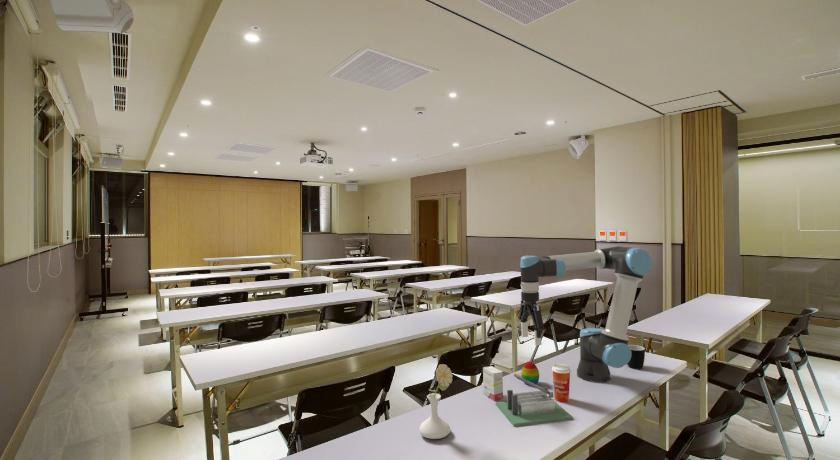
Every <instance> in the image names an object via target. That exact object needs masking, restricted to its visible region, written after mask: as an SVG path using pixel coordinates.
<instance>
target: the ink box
mask: <svg viewBox="0 0 840 460" xmlns="http://www.w3.org/2000/svg"><path fill="white" fill-rule="evenodd" d="M482 374H483V375H482V377H483V378H482V381H483V384H482V385H483V387H482V388H483V394H484V395H485V396H486V397H487V398H489V399H490V400H492V401H494V402H495V401H496V402H497V401H499V400H503V399H504V388H503V387H504V385H503V384H504V381H503V380H504V379H503V377H504V376H503V372H502V371H501V370H499V369H497V368H496V367H494V366H492V365H489V366H484V367H482Z"/></svg>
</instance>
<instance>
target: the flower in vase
mask: <svg viewBox="0 0 840 460" xmlns="http://www.w3.org/2000/svg"><path fill="white" fill-rule="evenodd" d="M435 376H436V381H437V382H438V384H437V388H436V389H435V390H434V389H431V388H428V391H429V392H431V393H429V394H427V395H426V398H427V399H428V401H429V404H430V411H431V412H430V416H429V417H428V418H427V419H425V420H424V421H423V422H421V424H420V425H419V428H418V431H419V433H420V435H421V436H422V437H424V438H427V439H432V440H438V439H444V438H445V437H447V436H448V435H449V434H450V432H451V426H450V425H449V424H448V422H447V421H446V420H444V419H442V418H441V417H440V416H439V414H438V405H439V401H440V399H441V397H442V395H441V394H439V393H437V392H438V391H439V390H438V389H440V390H441V391H446V390H447V389H448V388H449V386H450V384H452V382H453V376H454V375H453V373H452V371H451V368H450V367H448V365H447V364H444V363H442V364H439V365H438V367H437V368H436V369H435ZM432 392H433V393H432Z"/></svg>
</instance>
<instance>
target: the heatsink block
mask: <svg viewBox="0 0 840 460" xmlns="http://www.w3.org/2000/svg"><path fill="white" fill-rule="evenodd" d="M543 388H544V389H545V390H546V389H547V390H548V391H549V389H548V387H543ZM516 394H517V402H518V414H519V415H520V416H521V417H527V416H535V415H543V414H551V413H555V403H554V401H555V398H554V391H549V395H548V394H547V393H545V392H543V391H541V390H533V391H525V392H518V393H517V392H515V393H514V392H513V395H516ZM553 398H554V399H553Z"/></svg>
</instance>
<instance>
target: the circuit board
mask: <svg viewBox="0 0 840 460" xmlns="http://www.w3.org/2000/svg"><path fill="white" fill-rule="evenodd" d="M554 403H555V413H551V414H543V415H535V416H527V417H521V416H520V415H519V414H516V415H513V414H512V409H510V410H508V407H507V400H506V401H505V400H504V401H498V402H497V401H496V402H495V406H496V407H497V409H499V411H500V412H501V413H502V414H503V416H505V418H506V419H507V421H508V422H509V423H510V424H511V425H512V426H513V427H520V426H529V425H535V424H536V425H537V424H544V423H545V424H546V423H551V422H560V421H561V422H562V421H567V420H573V415H572V414H570V413H569V412H568V411H567V410H565V409H564V408H563V407H562V406H561V405H559V404H558V403H557V402H556V400H554Z"/></svg>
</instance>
